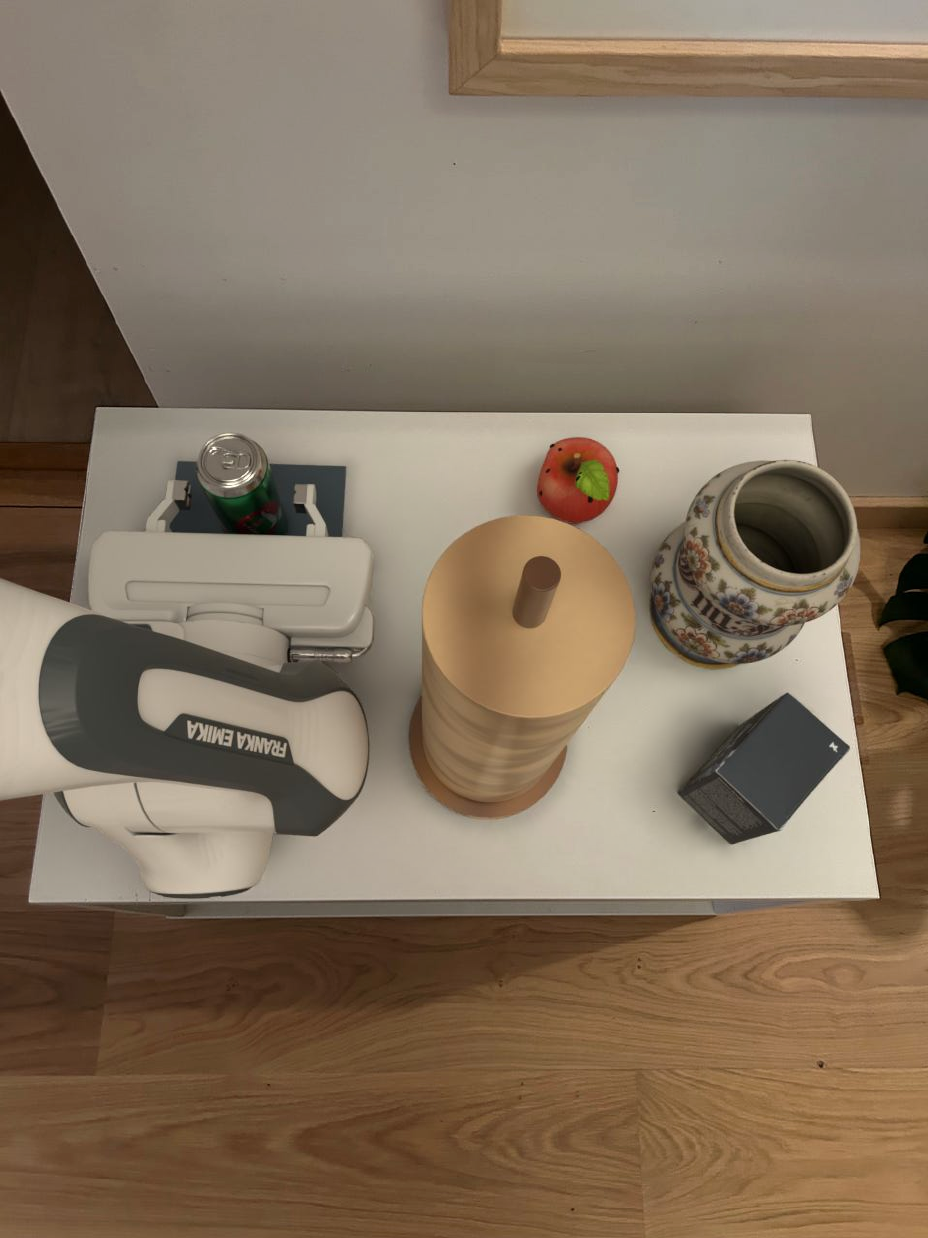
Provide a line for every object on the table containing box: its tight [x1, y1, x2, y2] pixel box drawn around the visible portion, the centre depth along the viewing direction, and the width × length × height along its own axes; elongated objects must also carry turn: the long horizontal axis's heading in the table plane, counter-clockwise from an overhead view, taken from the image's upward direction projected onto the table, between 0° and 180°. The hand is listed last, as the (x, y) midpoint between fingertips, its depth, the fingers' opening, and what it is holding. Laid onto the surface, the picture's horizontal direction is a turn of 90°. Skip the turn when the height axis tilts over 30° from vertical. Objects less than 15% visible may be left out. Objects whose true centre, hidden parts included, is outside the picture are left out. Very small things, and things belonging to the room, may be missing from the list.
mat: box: [169, 460, 347, 537], centre depth 77 cm, size 14×12×1 cm
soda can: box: [196, 432, 288, 536], centre depth 71 cm, size 5×5×12 cm
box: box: [677, 692, 851, 846], centre depth 67 cm, size 8×6×11 cm
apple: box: [536, 436, 620, 524], centre depth 74 cm, size 8×7×10 cm
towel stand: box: [408, 514, 637, 820], centre depth 56 cm, size 12×12×35 cm
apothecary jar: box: [649, 459, 861, 670], centre depth 68 cm, size 12×12×18 cm
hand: (243, 485), depth 71 cm, fingers open, 8 cm apart
